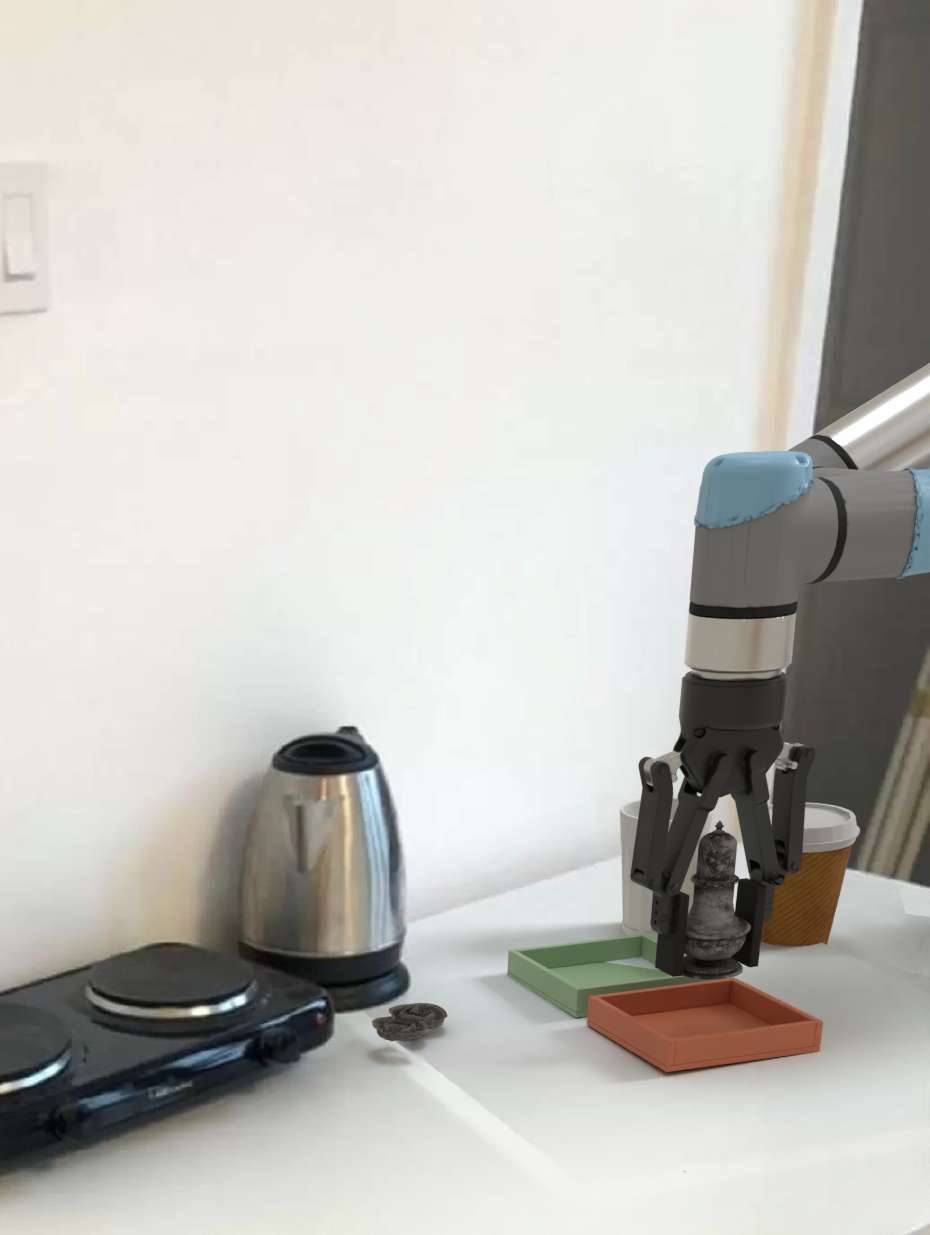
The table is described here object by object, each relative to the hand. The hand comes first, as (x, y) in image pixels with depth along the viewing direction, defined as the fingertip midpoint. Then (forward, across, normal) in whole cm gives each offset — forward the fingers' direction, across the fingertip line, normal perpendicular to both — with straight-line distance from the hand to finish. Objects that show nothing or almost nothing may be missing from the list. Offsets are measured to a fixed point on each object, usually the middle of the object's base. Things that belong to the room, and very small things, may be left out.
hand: (706, 966), depth 161 cm
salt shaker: (0, 0, 0) cm, 0 cm away
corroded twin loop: (+6, +20, -10) cm, 24 cm away
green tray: (+6, 0, -14) cm, 15 cm away
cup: (+6, -12, -26) cm, 29 cm away
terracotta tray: (+6, 0, 0) cm, 6 cm away
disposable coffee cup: (+6, -21, -19) cm, 29 cm away
